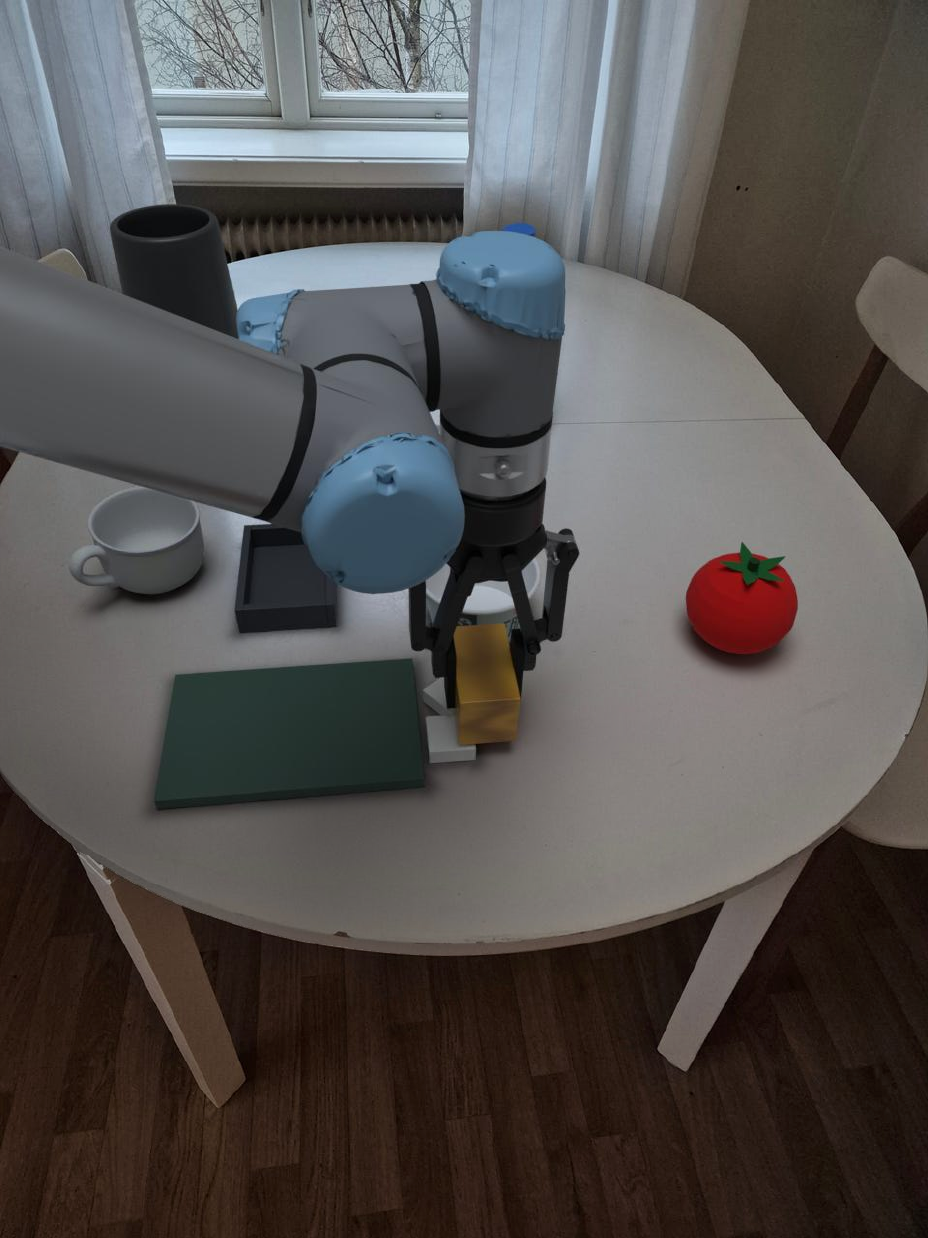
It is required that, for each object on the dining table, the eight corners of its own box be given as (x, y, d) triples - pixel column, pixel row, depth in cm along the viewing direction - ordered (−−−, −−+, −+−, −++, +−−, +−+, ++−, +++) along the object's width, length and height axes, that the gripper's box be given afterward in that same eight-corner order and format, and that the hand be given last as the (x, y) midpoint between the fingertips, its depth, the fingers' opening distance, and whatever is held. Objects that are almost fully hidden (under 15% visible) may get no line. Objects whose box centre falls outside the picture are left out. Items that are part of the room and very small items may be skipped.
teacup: (184, 531, 97) (168, 471, 92) (231, 580, 91) (217, 520, 86) (62, 581, 91) (37, 520, 85) (104, 638, 85) (80, 577, 79)
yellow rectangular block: (458, 745, 74) (459, 703, 70) (448, 668, 80) (448, 626, 76) (516, 741, 74) (520, 699, 70) (501, 665, 80) (504, 622, 77)
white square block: (452, 725, 78) (452, 714, 76) (422, 701, 80) (422, 689, 78) (483, 702, 80) (484, 690, 79) (453, 679, 82) (453, 667, 81)
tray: (239, 633, 86) (234, 610, 83) (248, 547, 95) (243, 524, 93) (336, 626, 86) (334, 604, 84) (335, 542, 96) (333, 520, 94)
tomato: (658, 614, 89) (677, 537, 82) (745, 593, 91) (770, 517, 84) (711, 686, 82) (736, 609, 75) (804, 661, 84) (836, 584, 77)
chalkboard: (157, 809, 71) (153, 801, 70) (178, 683, 81) (175, 674, 80) (424, 787, 73) (424, 778, 72) (412, 666, 83) (412, 658, 82)
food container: (440, 570, 93) (440, 521, 89) (547, 594, 91) (553, 546, 86) (400, 645, 85) (398, 595, 80) (518, 674, 82) (523, 624, 78)
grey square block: (429, 763, 74) (429, 752, 73) (425, 727, 77) (425, 716, 76) (475, 760, 75) (476, 748, 74) (470, 724, 78) (470, 713, 77)
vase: (275, 432, 112) (240, 197, 92) (264, 493, 103) (222, 245, 83) (168, 434, 112) (110, 197, 92) (147, 496, 102) (77, 246, 82)
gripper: (365, 511, 56) (381, 735, 72) (633, 497, 58) (591, 719, 74) (361, 449, 62) (377, 670, 78) (607, 438, 63) (573, 656, 80)
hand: (481, 693), depth 76 cm, fingers closed on yellow rectangular block, 5 cm apart
